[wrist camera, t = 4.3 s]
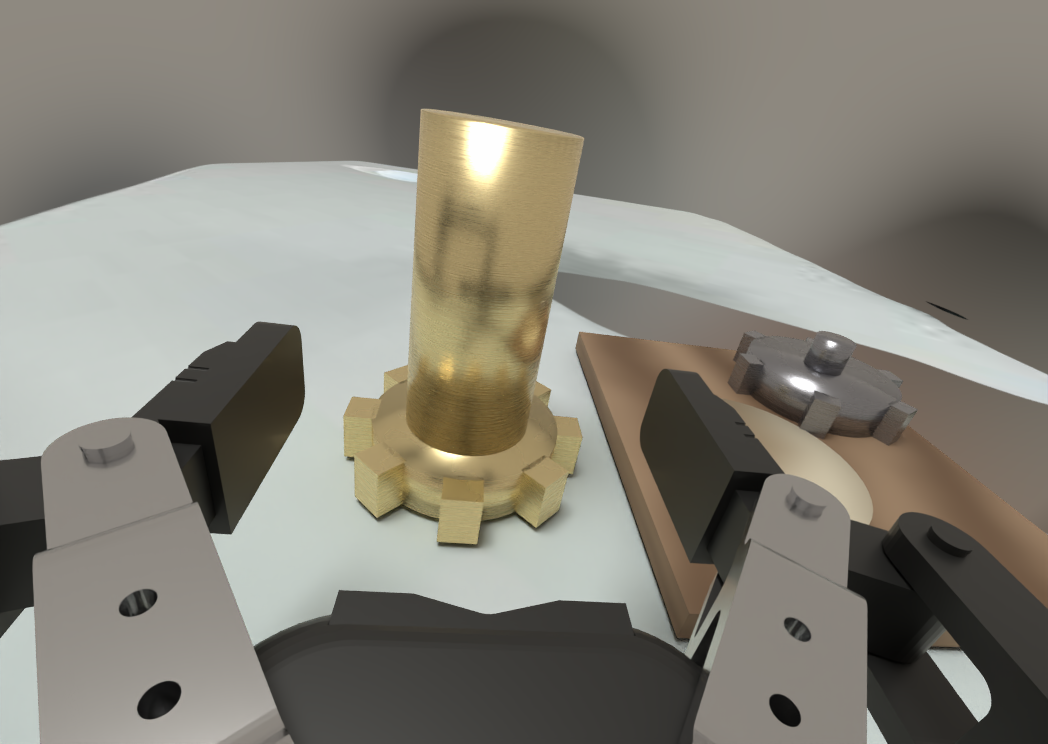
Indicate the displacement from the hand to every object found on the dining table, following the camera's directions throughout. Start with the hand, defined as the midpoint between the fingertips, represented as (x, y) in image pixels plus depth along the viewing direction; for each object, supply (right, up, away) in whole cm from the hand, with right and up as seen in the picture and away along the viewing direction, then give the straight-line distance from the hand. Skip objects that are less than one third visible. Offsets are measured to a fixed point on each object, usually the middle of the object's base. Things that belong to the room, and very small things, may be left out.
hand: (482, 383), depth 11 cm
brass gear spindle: (-2, -3, +10) cm, 11 cm away
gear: (+18, -1, +18) cm, 25 cm away
